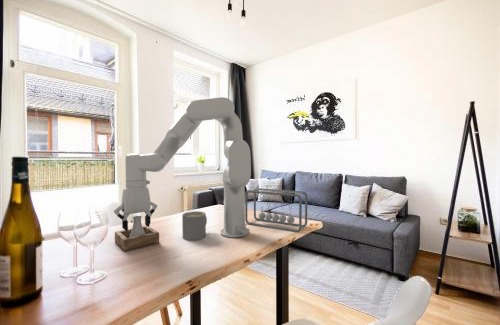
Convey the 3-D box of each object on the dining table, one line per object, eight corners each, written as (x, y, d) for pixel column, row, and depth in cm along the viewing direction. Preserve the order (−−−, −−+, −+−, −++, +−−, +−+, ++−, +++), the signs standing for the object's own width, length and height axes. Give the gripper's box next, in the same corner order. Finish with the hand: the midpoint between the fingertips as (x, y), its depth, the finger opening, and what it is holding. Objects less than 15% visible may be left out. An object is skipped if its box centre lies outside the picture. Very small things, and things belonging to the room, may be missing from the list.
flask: (150, 238, 102) (150, 214, 101) (141, 244, 94) (140, 219, 94) (134, 237, 102) (133, 214, 102) (123, 244, 95) (123, 218, 95)
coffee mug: (192, 242, 100) (192, 217, 99) (177, 237, 105) (177, 214, 105) (215, 233, 110) (215, 211, 110) (201, 229, 116) (200, 209, 116)
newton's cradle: (307, 227, 120) (307, 191, 120) (301, 233, 111) (301, 194, 111) (254, 219, 135) (254, 187, 134) (244, 224, 126) (244, 190, 125)
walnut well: (159, 243, 98) (159, 232, 98) (124, 252, 89) (124, 240, 89) (147, 235, 107) (147, 225, 107) (114, 242, 99) (114, 231, 98)
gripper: (154, 182, 106) (154, 222, 107) (109, 185, 94) (110, 230, 95) (161, 183, 101) (161, 225, 101) (114, 187, 89) (115, 234, 89)
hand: (136, 227), depth 98 cm, fingers open, 7 cm apart
